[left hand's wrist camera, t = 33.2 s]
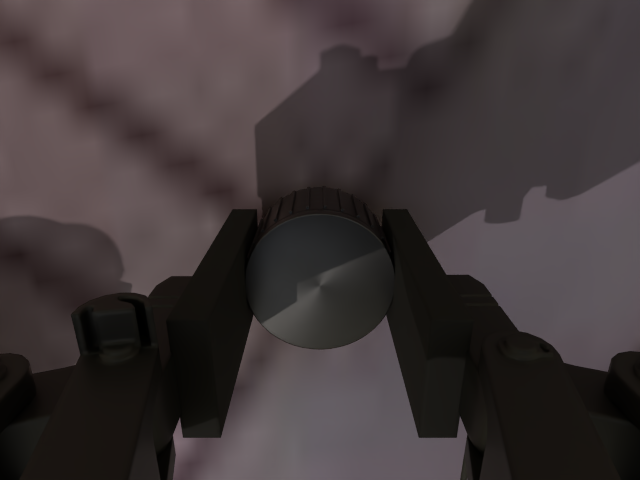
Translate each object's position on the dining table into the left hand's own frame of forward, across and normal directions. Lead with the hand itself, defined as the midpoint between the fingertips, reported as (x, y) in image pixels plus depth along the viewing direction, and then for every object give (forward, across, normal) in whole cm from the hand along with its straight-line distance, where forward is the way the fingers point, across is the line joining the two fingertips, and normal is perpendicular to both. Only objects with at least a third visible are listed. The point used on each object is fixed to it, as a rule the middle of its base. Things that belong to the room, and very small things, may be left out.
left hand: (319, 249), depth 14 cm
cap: (0, 0, 0) cm, 0 cm away
